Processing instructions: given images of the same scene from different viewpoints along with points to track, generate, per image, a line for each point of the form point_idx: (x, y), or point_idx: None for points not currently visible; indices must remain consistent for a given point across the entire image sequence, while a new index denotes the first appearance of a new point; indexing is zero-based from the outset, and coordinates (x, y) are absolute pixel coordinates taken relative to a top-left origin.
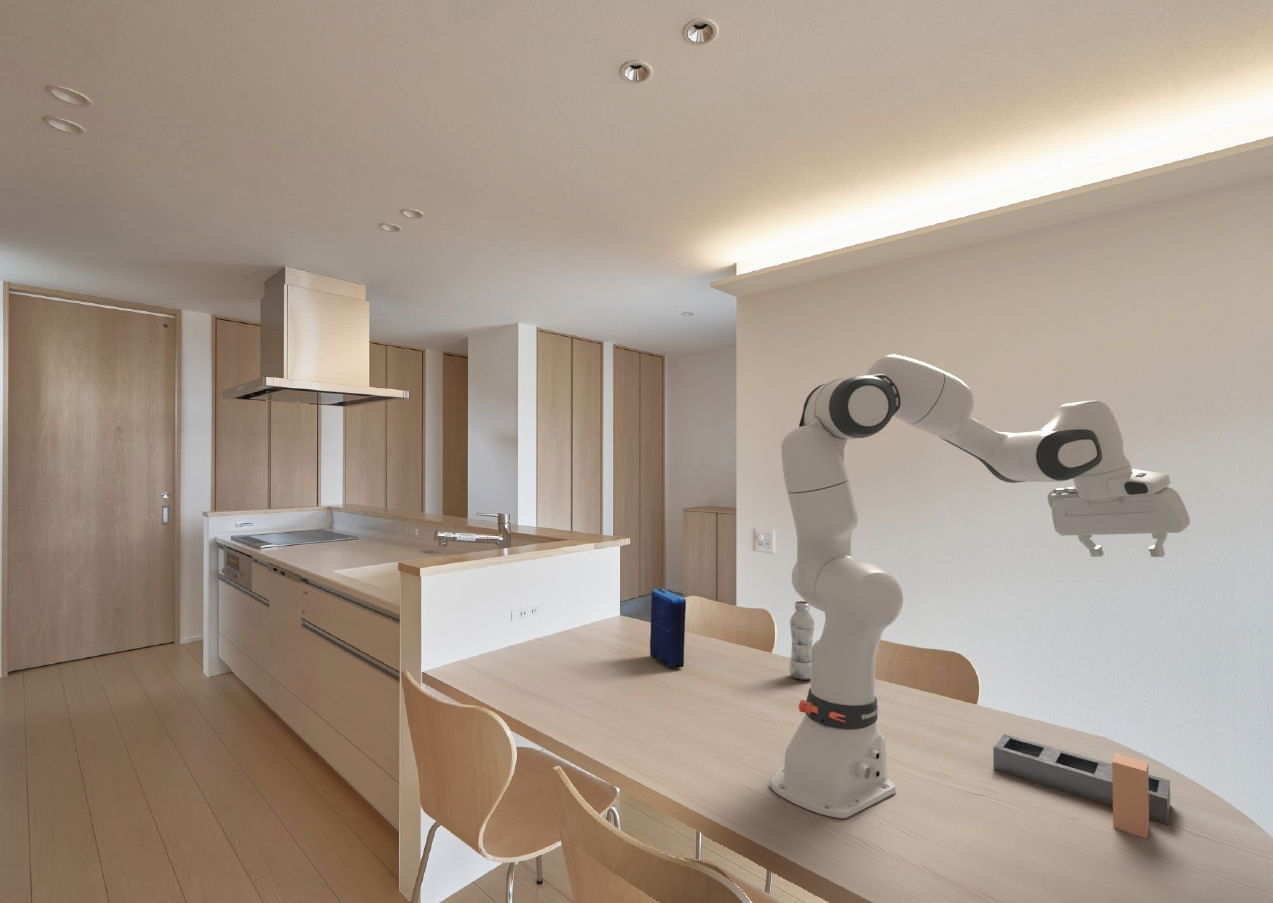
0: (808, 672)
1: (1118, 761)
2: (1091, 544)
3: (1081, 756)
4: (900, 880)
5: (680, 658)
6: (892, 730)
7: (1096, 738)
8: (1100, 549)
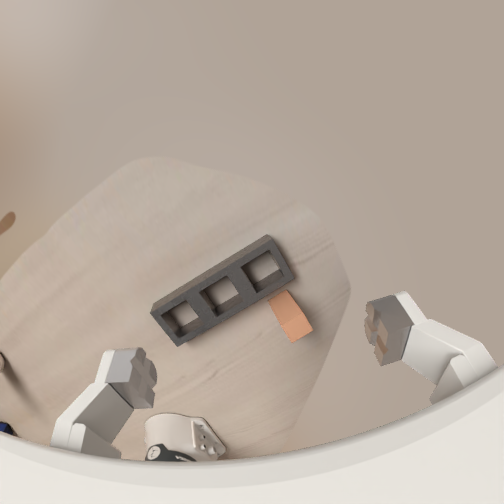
0: (1, 363)
1: (293, 337)
2: (114, 412)
3: (210, 278)
4: (277, 444)
5: (6, 431)
6: (99, 363)
7: (137, 160)
8: (141, 380)
